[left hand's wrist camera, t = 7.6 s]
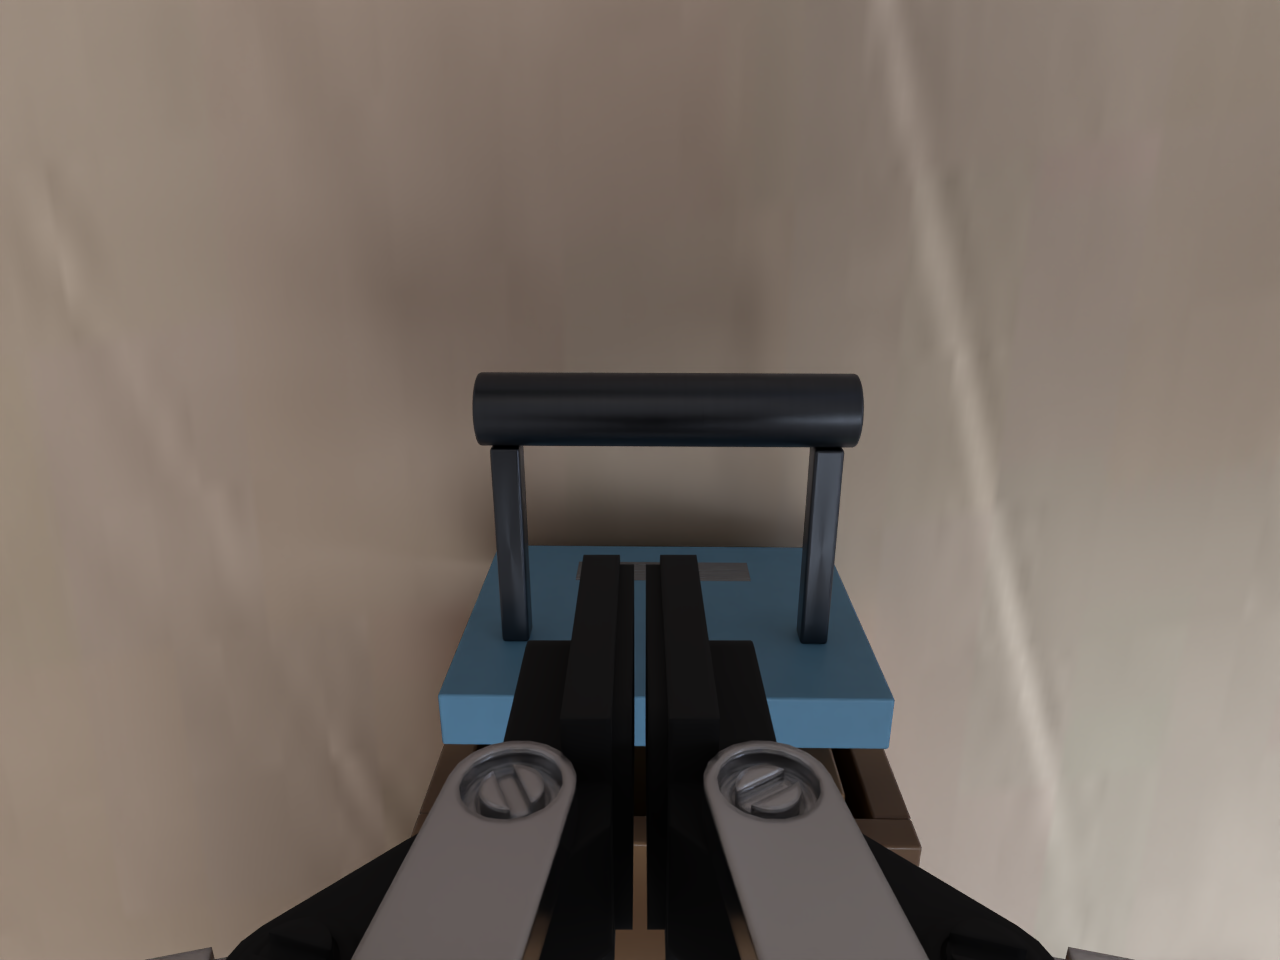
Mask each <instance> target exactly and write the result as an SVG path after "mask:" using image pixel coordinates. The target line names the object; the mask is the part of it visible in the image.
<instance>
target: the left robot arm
mask: <svg viewBox="0 0 1280 960" xmlns="http://www.w3.org/2000/svg"><path fill="white" fill-rule="evenodd" d="M634 746H635V679H634V564H620V555H583V561H582V568H581V575H580V582H579V589H578V596H577V603H576V610H575V617H574V624H573V631H572V638H571V640H529V641H527V644H526V647H525V652H524V656H523V660H522V664H521V669H520V673H519V677H518V681H517V686H516V690H515V694H514V698H513V703H512V707H511V711H510V715H509V720H508V724H507V728H506V732H505V737H504V741H503V742H502V743H497V744H492V745H489V746H487V747H484V748H482V749H480V750H477V751H475V752H473V753H471V754H470V755H469V756H467V757H466V758H465V759H463V760H462V761H460V762H459V763H458V764H457V766H456V767H455V768H454V770H453V771H452V772H451V773H450V775H449V776H448V778H447V780H446V782H445V784H444V786H443V787H442V789H441V791H440V793H439V795H438V797H437V799H436V801H435V803H434V804H433V806H432V808H431V810H430V812H429V814H428V816H427V818H426V819H425V821H424V823H423V825H422V827H421V829H420V831H419V833H417V834H416V835H414V836H412V837H411V838H409V839H407V840H406V841H404V842H402V843H401V844H399V845H397V846H396V847H394V848H392V849H391V850H389V851H387V852H386V853H384V854H382V855H381V856H379V857H377V858H376V859H374V860H372V861H370V862H369V863H367V864H365V865H364V866H362V867H360V868H359V869H357V870H355V871H354V872H352V873H350V874H349V875H347V876H345V877H344V878H342V879H340V880H339V881H337V882H335V883H334V884H332V885H330V886H329V887H327V888H325V889H324V890H322V891H320V892H319V893H317V894H315V895H313V896H312V897H310V898H308V899H307V900H305V901H303V902H302V903H300V904H298V905H297V906H295V907H293V908H292V909H290V910H288V911H287V912H285V913H283V914H282V915H280V916H278V917H277V918H275V919H273V920H272V921H270V922H268V923H267V924H265V925H263V926H262V927H260V928H259V929H258V930H256V931H255V932H254V933H252V934H251V935H250V936H248V937H247V938H246V939H244V940H243V941H241V943H240V944H239V945H238V946H237V947H236V948H235V949H234V950H233V952H232V953H231V954H230V955H229V956H228V957H225V958H219V959H214V955H213V951H212V947H209V948H204V949H199V950H194V951H188V952H183V953H178V954H173V955H168V956H162V957H157V958H152V959H147V960H615V931H616V930H633V852H634ZM645 746H646V853H647V930H664V931H665V960H1133V959H1128V958H1123V957H1118V956H1112V955H1107V954H1102V953H1097V952H1092V951H1086V950H1081V949H1076V948H1071V947H1068V951H1067V955H1066V959H1061V958H1055V957H1052V956H1051V955H1050V954H1049V953H1048V952H1047V950H1046V949H1045V948H1044V947H1043V946H1042V945H1041V944H1040V943H1039V941H1037V940H1036V939H1034V938H1033V937H1032V936H1030V935H1029V934H1028V933H1026V932H1025V931H1024V930H1022V929H1021V928H1020V927H1018V926H1017V925H1015V924H1013V923H1012V922H1010V921H1008V920H1007V919H1005V918H1003V917H1002V916H1000V915H998V914H997V913H995V912H993V911H992V910H990V909H988V908H987V907H985V906H983V905H982V904H980V903H978V902H977V901H975V900H973V899H972V898H970V897H968V896H967V895H965V894H963V893H961V892H960V891H958V890H956V889H955V888H953V887H951V886H950V885H948V884H946V883H945V882H943V881H941V880H940V879H938V878H936V877H935V876H933V875H931V874H930V873H928V872H926V871H925V870H923V869H921V868H920V867H918V866H916V865H915V864H913V863H911V862H910V861H908V860H906V859H904V858H903V857H901V856H899V855H898V854H896V853H894V852H893V851H891V850H889V849H888V848H886V847H884V846H883V845H881V844H879V843H878V842H876V841H874V840H873V839H871V838H869V837H868V836H866V835H864V834H863V833H861V831H860V829H859V827H858V825H857V823H856V821H855V819H854V818H853V816H852V814H851V812H850V810H849V808H848V806H847V804H846V803H845V801H844V799H843V797H842V795H841V793H840V791H839V789H838V787H837V786H836V784H835V782H834V780H833V778H832V776H831V775H830V773H829V772H828V771H827V770H826V768H825V767H824V766H823V764H822V763H821V762H820V761H818V760H817V759H815V758H814V757H813V756H811V755H810V754H809V753H807V752H805V751H803V750H800V749H798V748H796V747H793V746H791V745H788V744H783V743H778V742H777V741H776V737H775V732H774V728H773V724H772V720H771V715H770V711H769V707H768V703H767V698H766V694H765V690H764V686H763V681H762V677H761V673H760V669H759V664H758V660H757V656H756V652H755V647H754V644H753V641H751V640H709V638H708V631H707V624H706V617H705V610H704V603H703V596H702V589H701V582H700V575H699V568H698V561H697V555H660V564H646V678H645Z"/></svg>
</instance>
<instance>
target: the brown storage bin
mask: <svg viewBox="0 0 1280 960" xmlns="http://www.w3.org/2000/svg"><path fill="white" fill-rule="evenodd" d="M489 745H492V744H444V746H443V749H442V752H441V755H440V757H439V760H438V763H437V766H436V769H435V771H434V774H433V777H432V780H431V782H430V785H429V788H428V791H427V793H426V796H425V799H424V802H423V805H422V807H421V810H420V814H419V816H418V818H417V821H416V824H415V827H414V829H413V832H412V835H411V837H412V836H414V835H416V834H417V833H419V831H420V829H421V827H422V825H423V823H424V821H425V819H426V818H427V816H428V814H429V812H430V810H431V808H432V806H433V804H434V803H435V801H436V799H437V797H438V795H439V793H440V791H441V789H442V787H443V786H444V784H445V782H446V780H447V778H448V776H449V775H450V773H451V772H452V771H453V770H454V768H455V767H456V766H457V764H458V763H459V762H460V761H462V760H463V759H465V758H466V757H467V756H469V755H470V754H471V753H473V752H475V751H477V750H480V749H482V748H484V747H487V746H489ZM831 750H832V753H833V756H834V760H835V763H836V766H837V770H838V773H839V777H840V780H841V783H842V787H843V790H844V793H845V803H846V804H847V806H848V808H849V810H850V812H851V814H852V816H853V818H854V819H855V821H856V823H857V825H858V827H859V829H860V831H861V833H863V834H864V835H866V836H868V837H869V838H871V839H873V840H874V841H876V842H878V843H879V844H881V845H883V846H884V847H886V848H888V849H889V850H891V851H893V852H894V853H896V854H898V855H899V856H901V857H903V858H904V859H906V860H908V861H910V862H911V863H913V864H915V865H916V866H918V867H919V861H920V855H921V848H922V847H921V844H920V842H919V839H918V837H917V834H916V831H915V829H914V826H913V824H912V821H911V820H910V816H909V813H908V811H907V808H906V805H905V803H904V800H903V798H902V795H901V792H900V790H899V787H898V785H897V782H896V780H895V777H894V774H893V772H892V769H891V767H890V764H889V762H888V759H887V756H886V754H885V751H884V749H859V748H831ZM615 960H665V931H664V930H647V853H646V816H634V852H633V930H616V931H615Z"/></svg>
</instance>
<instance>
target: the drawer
mask: <svg viewBox="0 0 1280 960" xmlns="http://www.w3.org/2000/svg"><path fill="white" fill-rule="evenodd" d="M863 416H864V398H863V389H862V385H861V381H860V378H859V377H858V375H856V374H765V373H520V372H481V373H479V374H478V375H477V377H476V380H475V384H474V390H473V425H474V431H475V436H476V439H477V441H478V443H479V444H480V445H493V446H492V447H491V450H490V457H491V472H492V487H493V502H494V518H495V533H496V548H497V552H496V554H495V557H494V559H493V561H492V564H491V566H490V569H489V571H488V574H487V576H486V579H485V581H484V584H483V586H482V589H481V591H480V594H479V596H478V598H477V601H476V603H475V606H474V608H473V611H472V613H471V616H470V618H469V621H468V623H467V626H466V628H465V631H464V633H463V635H462V638H461V640H460V643H459V645H458V648H457V650H456V653H455V655H454V658H453V660H452V663H451V665H450V668H449V670H448V672H447V675H446V677H445V680H444V682H443V685H442V687H441V690H440V692H439V695H438V700H439V710H440V720H441V731H442V741H443V743H444V744H497V743H502V742H503V741H504V737H505V732H506V728H507V724H508V720H509V715H510V711H511V707H512V703H513V698H514V694H515V690H516V686H517V681H518V677H519V673H520V669H521V664H522V660H523V656H524V652H525V647H526V644H527V641H529V640H571V638H572V631H573V624H574V617H575V610H576V603H577V596H578V589H579V582H580V575H581V568H582V561H583V555H620V564H634V679H635V746H634V816H646V746H645V678H646V564H660V555H697V561H698V568H699V575H700V582H701V589H702V596H703V603H704V610H705V617H706V624H707V631H708V638H709V640H751V641H753V644H754V647H755V652H756V656H757V660H758V664H759V669H760V673H761V677H762V681H763V686H764V690H765V694H766V698H767V703H768V707H769V711H770V715H771V720H772V724H773V728H774V732H775V737H776V741H777V742H778V743H783V744H788V745H791V746H793V747H796V748H798V749H800V750H803V751H805V752H807V753H809V754H810V755H811V756H813V757H814V758H815V759H817V760H818V761H820V762H821V763H822V764H823V766H824V767H825V768H826V770H827V771H828V772H829V773H830V775H831V776H832V778H833V780H834V782H835V784H836V786H837V787H838V789H839V791H840V793H841V795H842V797H843V799H844V801H845V793H844V790H843V787H842V783H841V780H840V777H839V773H838V770H837V766H836V763H835V760H834V756H833V753H832V750H831V748H859V749H887V748H888V747H889V740H890V732H891V724H892V716H893V708H894V698H893V696H892V693H891V691H890V689H889V687H888V684H887V682H886V680H885V678H884V675H883V673H882V671H881V669H880V666H879V664H878V662H877V660H876V657H875V655H874V653H873V651H872V648H871V646H870V644H869V641H868V639H867V637H866V635H865V632H864V630H863V628H862V626H861V623H860V621H859V619H858V617H857V614H856V612H855V610H854V608H853V605H852V603H851V601H850V599H849V596H848V594H847V592H846V590H845V587H844V585H843V583H842V581H841V578H840V576H839V574H838V572H837V569H836V567H835V565H834V561H835V550H836V538H837V527H838V516H839V505H840V494H841V483H842V472H843V460H844V451H843V449H842V447H855V446H856V445H857V444H858V442H859V439H860V436H861V432H862V426H863ZM523 446H678V447H810V455H809V469H808V482H807V496H806V509H805V522H804V536H803V548H781V547H643V546H528V530H527V510H526V491H525V471H524V451H523Z"/></svg>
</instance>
